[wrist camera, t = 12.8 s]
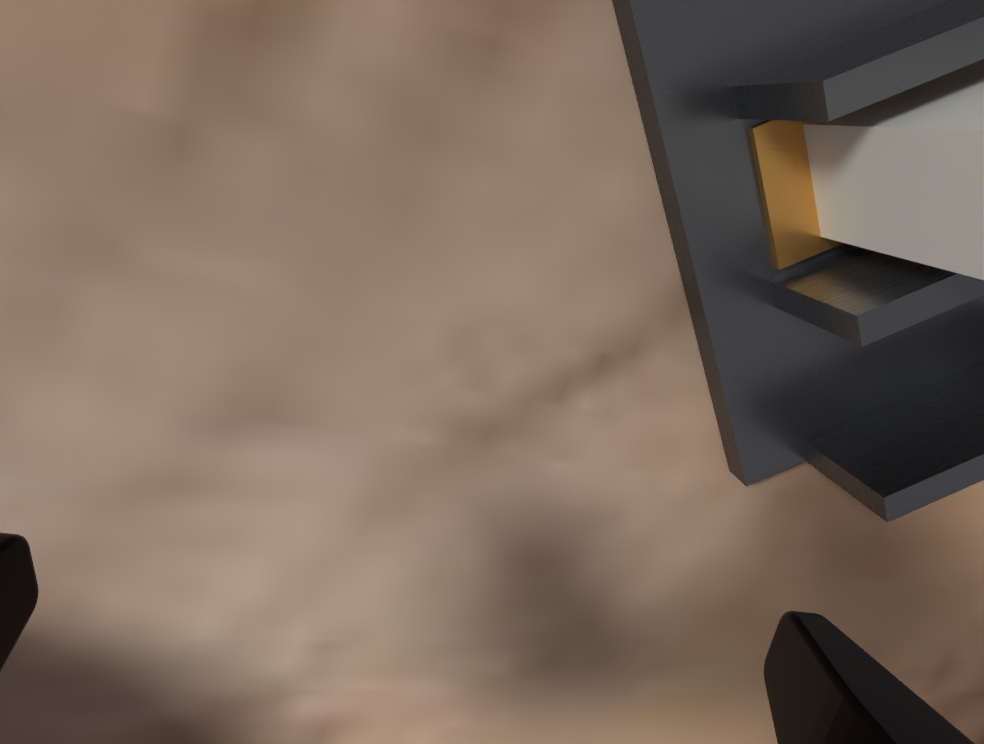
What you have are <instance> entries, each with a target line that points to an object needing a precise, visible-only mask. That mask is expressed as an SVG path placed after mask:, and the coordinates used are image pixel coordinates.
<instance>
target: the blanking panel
mask: <svg viewBox="0 0 984 744" xmlns="http://www.w3.org/2000/svg"><path fill="white" fill-rule="evenodd" d="M803 128H804V134H805V140H806V146H807V153H808V159H809V165H810V171H811V178H812V184H813V190H814V196H815V203H816V209H817V215H818V221H819V228H820V234H821V237H823V238H827V239H831V240H835V241H838V242H842V243H846V244H850V245H853V246H857V247H861V248H865V249H868V250H872V251H876V252H880V253H883V254H887V255H891V256H895V257H898V258H902V259H906V260H910V261H913V262H917V263H921V264H925V265H928V266H932V267H936V268H940V269H944V270H947V271H951V272H955V273H959V274H962V275H966V276H970V277H974V278H977V279H981V280H984V59H982V60H980V61H977V62H975V63H973V64H970V65H968V66H965V67H963V68H960V69H958V70H955V71H953V72H950V73H948V74H945V75H943V76H940V77H938V78H935V79H933V80H930V81H928V82H925V83H923V84H921V85H918V86H916V87H913V88H911V89H908V90H906V91H903V92H901V93H898V94H896V95H893V96H891V97H888V98H886V99H883V100H881V101H878V102H876V103H873V104H871V105H869V106H866V107H864V108H861V109H859V110H856V111H854V112H851V113H849V114H846V115H844V116H841V117H839V118H836V119H834V120H831V121H829V122H828V121H810V122H808V123H805V124H803Z"/></svg>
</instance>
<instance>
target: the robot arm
mask: <svg viewBox="0 0 984 744" xmlns="http://www.w3.org/2000/svg"><path fill="white" fill-rule="evenodd" d="M37 599H38V584H37V579H36V575H35V570H34V566H33V561H32V557H31V552H30V547H29V544H28V542H27V540H26V539H25V538H24V537H23V536H20V535H17V534H8V533H0V671H1V670H2V668H3V666H4V664H5V662H6V660H7V659H8V657H9V655H10V653H11V651H12V649H13V648H14V646H15V644H16V642H17V640H18V638H19V637H20V635H21V633H22V631H23V629H24V627H25V626H26V624H27V622H28V620H29V618H30V616H31V615H32V613H33V611H34V608H35V606H36V603H37ZM764 679H765V685H766V689H767V694H768V699H769V704H770V709H771V713H772V718H773V723H774V728H775V733H776V737H777V742H778V744H974V743H973V742H972V741H971V740H970V739H968V738H967V737H966V736H965V735H964V734H962V733H961V732H960V731H959V730H958V729H957V728H955V727H954V726H953V725H952V724H951V723H949V722H948V721H947V720H946V719H945V718H944V717H942V716H941V715H940V714H939V713H938V712H936V711H935V710H934V709H933V708H932V707H930V706H929V705H928V704H927V703H926V702H925V701H923V700H922V699H921V698H920V697H919V696H917V695H916V694H915V693H914V692H913V691H911V690H910V689H909V688H908V687H907V686H906V685H904V684H903V683H902V682H901V681H900V680H898V679H897V678H896V677H895V676H894V675H893V674H891V673H890V672H889V671H888V670H887V669H885V668H884V667H883V666H882V665H881V664H879V663H878V662H877V661H876V660H875V659H874V658H872V657H871V656H870V655H869V654H868V653H866V652H865V651H864V650H863V649H862V648H860V647H859V646H858V645H857V644H856V643H855V642H853V641H852V640H851V639H850V638H849V637H847V636H846V635H845V634H844V633H843V632H842V631H840V630H839V629H838V628H837V627H836V626H834V625H833V624H832V623H831V622H830V621H828V620H827V619H826V618H825V617H823V616H821V615H819V614H815V613H805V612H795V611H790V612H786V613H785V614H784V615H783V616H782V617H781V619H780V621H779V624H778V626H777V629H776V632H775V634H774V637H773V640H772V642H771V645H770V648H769V651H768V653H767V656H766V659H765V664H764Z"/></svg>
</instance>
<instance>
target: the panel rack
mask: <svg viewBox="0 0 984 744" xmlns="http://www.w3.org/2000/svg"><path fill="white" fill-rule="evenodd" d="M612 1H613V5H614V9H615V13H616V17H617V21H618V25H619V29H620V33H621V37H622V41H623V45H624V49H625V53H626V57H627V61H628V65H629V69H630V73H631V77H632V81H633V85H634V89H635V93H636V97H637V101H638V105H639V109H640V113H641V117H642V121H643V125H644V129H645V133H646V137H647V141H648V145H649V149H650V153H651V158H652V162H653V166H654V170H655V174H656V178H657V182H658V186H659V190H660V194H661V198H662V202H663V206H664V210H665V214H666V218H667V222H668V226H669V230H670V234H671V238H672V242H673V246H674V250H675V254H676V258H677V262H678V266H679V270H680V274H681V278H682V282H683V286H684V290H685V294H686V298H687V302H688V306H689V310H690V314H691V318H692V322H693V326H694V330H695V334H696V338H697V342H698V346H699V350H700V354H701V358H702V362H703V366H704V370H705V374H706V378H707V382H708V386H709V390H710V394H711V398H712V402H713V406H714V410H715V414H716V418H717V422H718V426H719V430H720V434H721V438H722V442H723V446H724V450H725V454H726V458H727V463H728V467H729V471H730V472H731V473H732V474H734V475H735V476H736V477H737V478H738V479H739V480H740V481H741V482H742V483H743V484H744V485H745V486H748V485H750V484H753V483H755V482H757V481H760V480H762V479H764V478H767V477H769V476H771V475H774V474H776V473H778V472H780V471H783V470H785V469H787V468H790V467H792V466H794V465H797V464H799V463H801V462H804V461H807V462H808V463H809V464H811V465H812V466H813V467H815V468H816V469H817V470H819V471H820V472H821V473H823V474H824V475H825V476H827V477H828V478H829V479H831V480H832V481H833V482H835V483H836V484H837V485H839V486H840V487H841V488H843V489H844V490H845V491H847V492H848V493H849V494H851V495H852V496H853V497H855V498H856V499H857V500H858V501H860V502H861V503H862V504H864V505H865V506H866V507H868V508H869V509H870V510H872V511H873V512H874V513H876V514H877V515H878V516H880V517H881V518H882V519H884V520H885V521H886V522H889V521H892V520H894V519H896V518H898V517H901V516H903V515H905V514H907V513H910V512H912V511H914V510H916V509H919V508H921V507H923V506H926V505H928V504H930V503H932V502H935V501H937V500H939V499H941V498H944V497H946V496H948V495H950V494H953V493H955V492H957V491H959V490H962V489H964V488H966V487H968V486H971V485H973V484H975V483H978V482H980V481H982V480H984V280H981V279H977V278H974V277H970V276H966V275H962V274H959V273H955V272H951V271H947V270H944V269H940V268H936V267H932V266H928V265H925V264H921V263H917V262H913V261H910V260H906V259H902V258H898V257H895V256H891V255H887V254H883V253H880V252H876V251H872V250H868V249H865V248H861V247H857V246H853V245H850V244H846V243H842V242H838V241H835V240H831V239H827V238H823V237H821V234H820V228H819V221H818V215H817V209H816V203H815V196H814V190H813V184H812V178H811V171H810V165H809V159H808V153H807V146H806V140H805V134H804V128H803V124H805V123H808V122H810V121H828V122H829V121H831V120H834V119H836V118H839V117H841V116H844V115H846V114H849V113H851V112H854V111H856V110H859V109H861V108H864V107H866V106H869V105H871V104H873V103H876V102H878V101H881V100H883V99H886V98H888V97H891V96H893V95H896V94H898V93H901V92H903V91H906V90H908V89H911V88H913V87H916V86H918V85H921V84H923V83H925V82H928V81H930V80H933V79H935V78H938V77H940V76H943V75H945V74H948V73H950V72H953V71H955V70H958V69H960V68H963V67H965V66H968V65H970V64H973V63H975V62H977V61H980V60H982V59H984V0H612Z"/></svg>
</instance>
